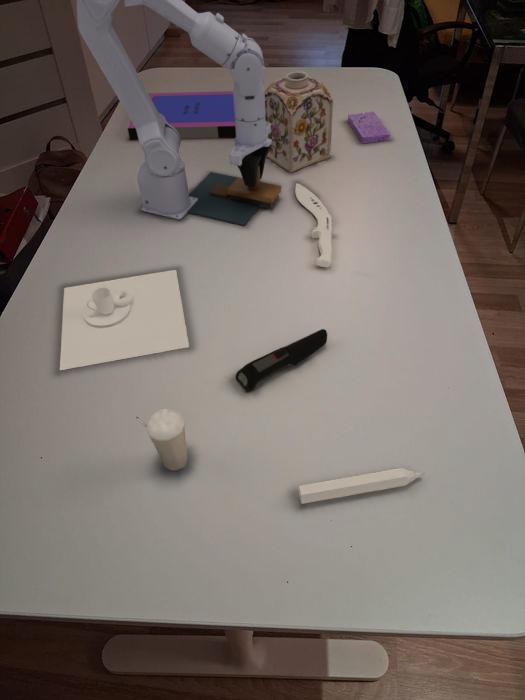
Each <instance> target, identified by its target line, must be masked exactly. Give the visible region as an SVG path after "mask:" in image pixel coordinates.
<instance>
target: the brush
mask: <svg viewBox="0 0 525 700" xmlns="http://www.w3.org/2000/svg"><path fill="white" fill-rule="evenodd" d="M281 192H282V185H277V184H274V183H267V182H263V181H261V180H260V165H259V164H258V169H257V180H256V185H255V187H250V186H245V184H244V181H243V179H242V177H238V178H237V179H236V180H235V181H234V182H233V183H232V184H231V185H230V186H229V188H228V189H227V193H228V194H229V195H230V200H234V201H238V202H243V203H248V204H252V205H257V206H260V207H263V208H267V209H272V207H274V205H275V204H276V202H277V201H278V200H279V198H280V194H281Z"/></svg>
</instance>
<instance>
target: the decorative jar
mask: <svg viewBox="0 0 525 700" xmlns="http://www.w3.org/2000/svg"><path fill="white" fill-rule="evenodd" d="M333 108H334V100H333V98H332V96H331V93H330V92H329V90H328V89H327V88H326V85H325V84H324V82H322V81H320V80H318V79H316V78H314V77H312V76H309V75H308V73H307V72H304V71H292V72H288V73H287V74H286V75H285V77H280V78H277V79H275V80H273V81H272V82H271V83H270V85H269V86H267V88H266V89H265V122H267V123H271V133H270V134H268V139H271V140H272V143H271V148H270V150H269V152H268V154H267V157H266V158H268V159H269V160H271V161H272V162H274V163H275V164H276V165H278V166H280V167H281V168H283V169H285V170H286V171H287V172H289V173H293V172H296V171H298V170H301V169H303V168H306V167H308V166H311V165H313V164H317V163H319V162H322V161H324V160H326V159H329V158H330V156H331V146H332V131H333V129H332V128H333Z"/></svg>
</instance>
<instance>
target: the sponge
mask: <svg viewBox="0 0 525 700" xmlns="http://www.w3.org/2000/svg"><path fill="white" fill-rule="evenodd" d="M347 123H348V124H349V126H350V127H351V129H352V131H353V132H354V134H355V135H356V137H357V138H358V140H359V141H360V143H361V144H372V143H377V142H378V143H379V142H388V141H390V139H391V133H390V132H389V130H388V129H387V128H386V127H385V125H384V124H383V122H382V121H381V119H380V118H379V116H378V115H377V113H376V112H375V111H368V112H364V113H363V112H361V113H352V114H348V115H347Z"/></svg>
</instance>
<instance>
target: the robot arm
mask: <svg viewBox="0 0 525 700" xmlns="http://www.w3.org/2000/svg"><path fill="white" fill-rule="evenodd" d="M119 2H121V0H76V15H77V29H78V31H79V34H80V35H81V37H82V39H83V40H84V42H85V44H86V46H87V47H88V49H89V51H90V53H91V54H92V56H93V57H94V59H95V61H96V63H97V65H98V66H99V68H100V70H101V71H102V73H103V75H104V77H105V78H106V80H107V82H108V83H109V85H110V87H111V89H112V90H113V92H114V94H115V95H116V98H117V99H118V101H119V102H120V104H121V106H122V108H123V109H124V111H125V113H126V114H127V116H128V118H129V119H130V122H131V121H132V123H133V125H134V126H135V128H136V131H137V135H138V139H139V140H138V142H139V146H140V148H141V150H142V152H143V154H144V162H143V163H142V164H141V165H140V167H139V169H138V171H137V186H138V190H139V194H140V199H141V204H142V207H141V209H140V210H141V212H145V213H148V214H153V215H157V216H162V217H165V218H170V219H174V220H179V221H180V220H182V219H183V218H184V217H185V216H186V214H188V213H187V212H188V210H189V209H190V208H191V207H192V206H193V205H194V204H195V203H196V202H197V201H198V198H194V197H190V196H189V194H190V193H189V185H188V180H187V172H186V165H185V161H184V159H183V158H182V157H181V156H180V146H181V140H182V139H180V135H179V133H178V132H177V130H176V129H175V128H173V127H172V126H171V125H169V124H168V122H167V121H166V119H165V117H164V116H163V115H162V114H160V113H159V112H158V111H157V109H156V107H155V105H154V103H153V102H152V100H151V98H150V96H149V94H148V93H149V92H148V90H147V89H146V86H145V85H144V83H143V81H142V79H141V77H140V76H139V74H138V72H137V70H136V68H135V66H134V64H133V62H132V61H131V59H130V57H129V55H128V54H127V52H126V51H127V50H126V49H125V48H124V45H123V44H122V42H121V40H120V38H119V36H118V34H117V33H116V31H115V29H114V27H113V25H112V23H113V18H114V14H115V10H116V7H117V6H118V4H119ZM123 3H124V4H123V7H136V6H146V7H147V8H149V9H150V10H153V12H155V13H157V14H158V15H160V16H162V17H163V18H164V19H165V20H167V21H169V22H170V23H172V24H174V25H175V26H177V27H178V28H179V29H181V30H183V31H185V32H186V33H188V35H189V39H190V43H191V45H192V47H194V48H195V49H196V50H197V51H199V52H201V53H202V54H204V55H205V56H206V57H208V58H209V59H210V60H212V61H214V62H215V63H216V64H218V65H219V66H220V67H222V68H224V69H227V70H230V75H231V77H232V79H233V89H232V91H233V100H234V114H235V128H236V138H234V142H233V147H232V150H231V153H230V154H229V160H230V161H229V162H230V165H232V166H233V165H234V166H237V169H238V170H239V173H240V176H241V178H243V181H244V184H245V186H250V187H255V185H256V180H257V169H258V164H259V165H260V181H261V180H262V178H263V174H264V169H265V164H266V161H267V158H268V157H267V154H268V152H269V150H270V148H271V143H272V140H271V139H268V134H270V133H271V123H267V122H265V91H266V89H265V87H264V84H265V79H264V78H265V75H266V72H267V70H266V69H267V68H266V66H265V65H266V64H265V60H264V55H263V51H262V49H261V47H260V45H259V44H258V43H257V42H256V40H255V39H254V38H252V37H248V35H246V34H245V33H243V32H242V33H239V32H238V31H236V30H235V29H233V28H232V27H231V26H230V25H228V24H227V23H225V22H224V21H225V19H224V16H223V15H221V14H220V13H219V12H217V13H216V14H213V13H212V11H205V12H197V11H196V10H194V9H193V8H192V6H190V5H189V4H187V3H186V2H185V1H184V0H124V2H123Z"/></svg>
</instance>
